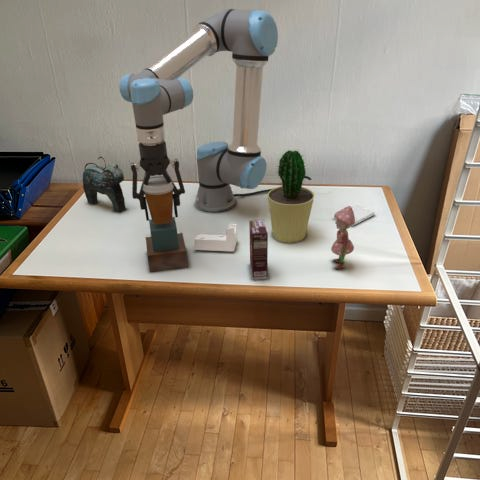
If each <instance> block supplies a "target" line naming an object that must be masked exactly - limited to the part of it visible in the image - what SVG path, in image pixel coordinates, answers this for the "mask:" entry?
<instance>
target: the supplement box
mask: <svg viewBox="0 0 480 480" xmlns="http://www.w3.org/2000/svg"><path fill="white" fill-rule="evenodd" d="M248 227H249V228H248V229H249V230H248V232H249V267H250V272H251V276H252V280H255V281H256V280H266V279H267V280H268V265H269V263H268V262H269V261H268V253H269V252H268V249H269V247H268V245H269V236H268V235H269V232H268V231H267V227H266V223H265V219H253V220H252V219H251V220H248Z"/></svg>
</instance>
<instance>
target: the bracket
mask: <svg viewBox="0 0 480 480" xmlns="http://www.w3.org/2000/svg"><path fill="white" fill-rule="evenodd" d="M237 236H238V224H237V223H228V227H226V228H225V234H207V233H206V234H205V233H204V234H203V233H201V234H200V233H199V234H198V235H196V237H195V238H194V250H195V251H213V252H215V251H216V252H232V253H233V252H235V250H236V245H237V243H238V242H237V239H238V237H237Z"/></svg>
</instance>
